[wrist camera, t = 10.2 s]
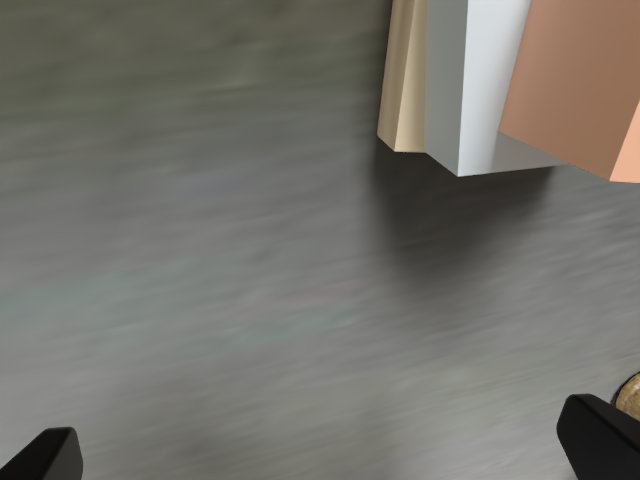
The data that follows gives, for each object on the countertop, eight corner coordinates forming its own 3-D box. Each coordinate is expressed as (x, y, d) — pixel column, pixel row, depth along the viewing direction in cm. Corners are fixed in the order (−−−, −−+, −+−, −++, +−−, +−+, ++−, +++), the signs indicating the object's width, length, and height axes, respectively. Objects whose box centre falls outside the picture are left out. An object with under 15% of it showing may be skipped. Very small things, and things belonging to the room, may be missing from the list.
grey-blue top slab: (423, 150, 16) (457, 176, 13) (429, -97, 13) (476, -130, 10) (613, 130, 16) (684, 151, 13) (663, -112, 13) (768, -148, 10)
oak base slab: (374, 132, 18) (394, 151, 16) (402, -112, 15) (434, -143, 12) (556, 140, 19) (604, 158, 17) (621, -87, 16) (695, -109, 13)
